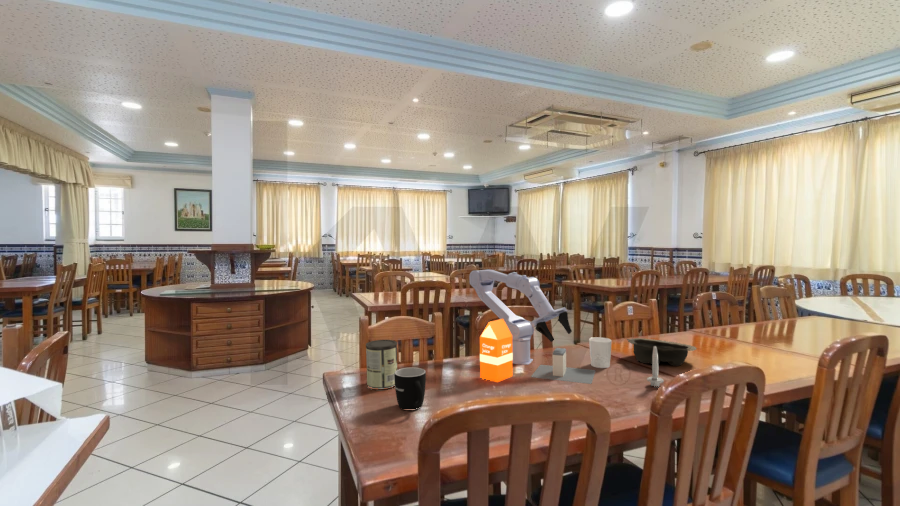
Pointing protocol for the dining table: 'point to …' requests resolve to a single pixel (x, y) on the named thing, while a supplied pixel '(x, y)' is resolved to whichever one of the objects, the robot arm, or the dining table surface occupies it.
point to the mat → (569, 375)
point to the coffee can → (381, 363)
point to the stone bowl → (660, 351)
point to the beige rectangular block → (559, 362)
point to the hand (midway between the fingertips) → (561, 336)
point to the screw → (655, 370)
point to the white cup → (600, 352)
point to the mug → (410, 387)
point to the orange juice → (496, 352)
